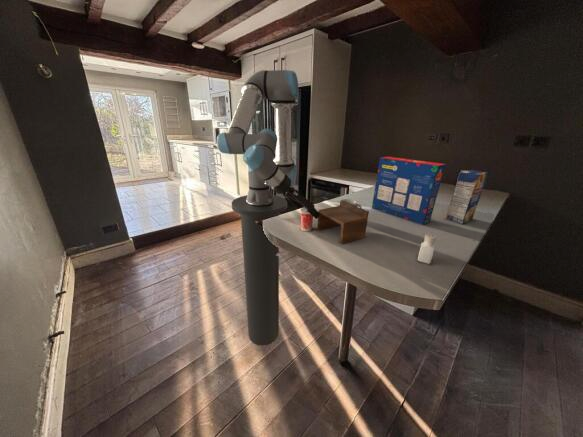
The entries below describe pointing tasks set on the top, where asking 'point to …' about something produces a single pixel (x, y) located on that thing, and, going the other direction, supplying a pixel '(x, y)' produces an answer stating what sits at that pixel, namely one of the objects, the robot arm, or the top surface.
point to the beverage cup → (306, 220)
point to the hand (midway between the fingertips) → (308, 211)
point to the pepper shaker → (427, 249)
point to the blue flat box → (407, 188)
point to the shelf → (345, 220)
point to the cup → (351, 202)
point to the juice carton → (466, 196)
